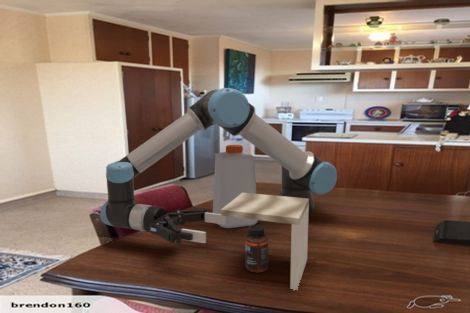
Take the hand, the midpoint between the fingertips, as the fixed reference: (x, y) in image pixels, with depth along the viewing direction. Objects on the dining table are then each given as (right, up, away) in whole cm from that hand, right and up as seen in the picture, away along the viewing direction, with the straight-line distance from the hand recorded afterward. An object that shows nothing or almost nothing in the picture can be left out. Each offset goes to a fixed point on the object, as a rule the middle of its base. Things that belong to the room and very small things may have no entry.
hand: (216, 228), depth 88 cm
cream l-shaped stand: (+13, -10, -2) cm, 17 cm away
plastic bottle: (+5, -5, +33) cm, 33 cm away
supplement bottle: (+11, -10, -2) cm, 15 cm away
